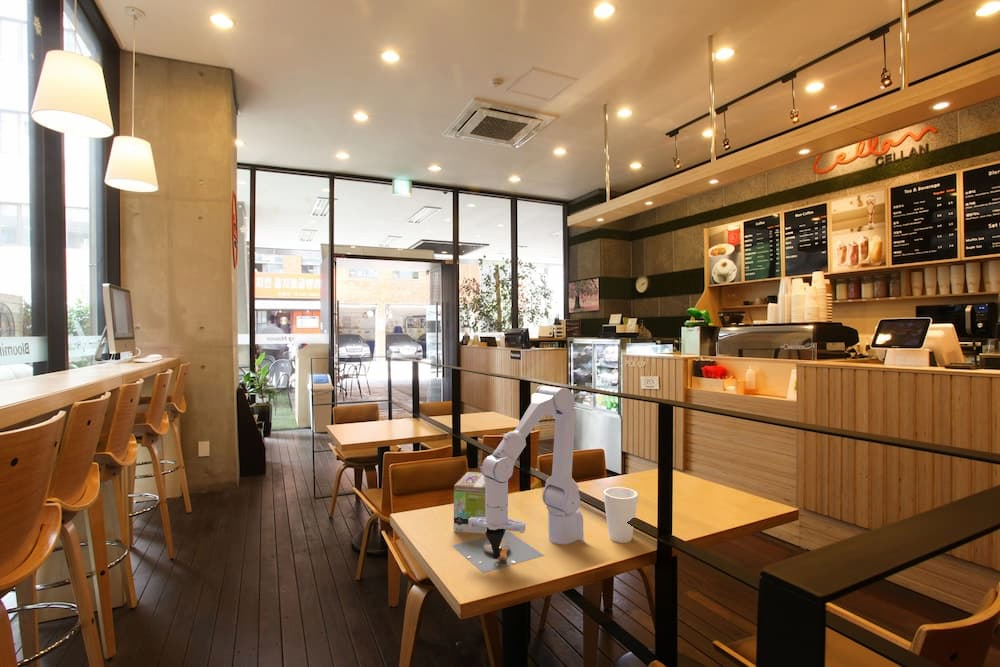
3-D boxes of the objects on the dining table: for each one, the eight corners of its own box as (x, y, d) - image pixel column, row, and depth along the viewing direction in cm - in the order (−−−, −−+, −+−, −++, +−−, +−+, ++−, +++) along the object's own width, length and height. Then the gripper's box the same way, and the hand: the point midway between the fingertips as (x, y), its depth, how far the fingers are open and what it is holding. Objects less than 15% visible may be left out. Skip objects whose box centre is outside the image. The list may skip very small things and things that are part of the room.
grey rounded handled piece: (481, 545, 139) (481, 534, 139) (506, 542, 141) (506, 531, 141) (490, 564, 128) (489, 552, 128) (517, 561, 129) (517, 549, 129)
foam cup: (627, 528, 152) (627, 485, 151) (644, 542, 143) (644, 496, 143) (597, 533, 150) (597, 489, 149) (613, 547, 141) (613, 500, 140)
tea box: (486, 538, 147) (485, 486, 147) (452, 535, 150) (452, 485, 149) (497, 518, 162) (496, 472, 162) (466, 516, 164) (465, 470, 164)
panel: (508, 535, 149) (508, 530, 149) (544, 559, 133) (544, 554, 133) (452, 549, 140) (451, 544, 140) (483, 577, 124) (483, 571, 124)
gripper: (464, 506, 128) (464, 560, 128) (521, 512, 124) (521, 567, 124) (473, 497, 135) (473, 548, 135) (527, 502, 131) (527, 555, 131)
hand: (496, 557), depth 130 cm, fingers closed, pressing on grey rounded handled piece
